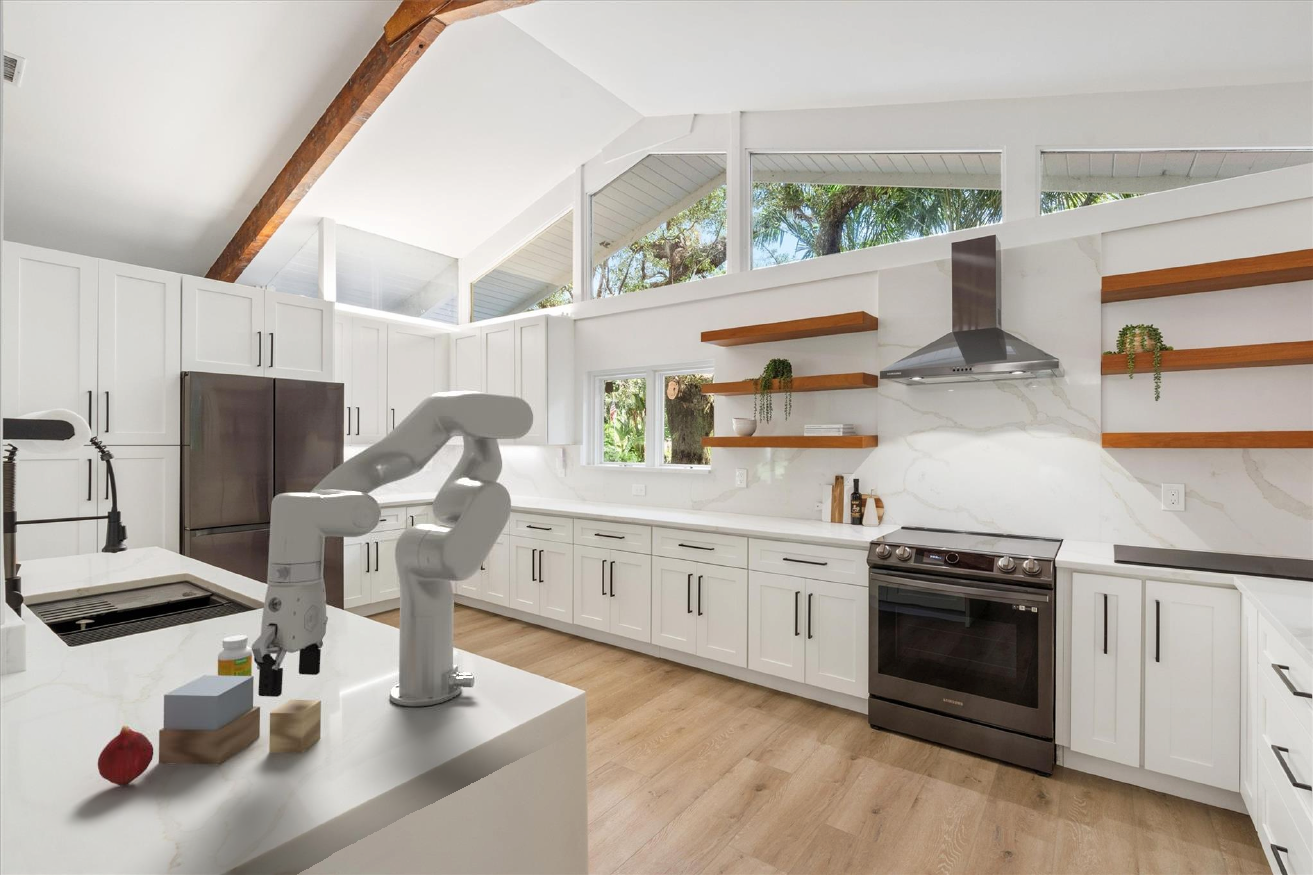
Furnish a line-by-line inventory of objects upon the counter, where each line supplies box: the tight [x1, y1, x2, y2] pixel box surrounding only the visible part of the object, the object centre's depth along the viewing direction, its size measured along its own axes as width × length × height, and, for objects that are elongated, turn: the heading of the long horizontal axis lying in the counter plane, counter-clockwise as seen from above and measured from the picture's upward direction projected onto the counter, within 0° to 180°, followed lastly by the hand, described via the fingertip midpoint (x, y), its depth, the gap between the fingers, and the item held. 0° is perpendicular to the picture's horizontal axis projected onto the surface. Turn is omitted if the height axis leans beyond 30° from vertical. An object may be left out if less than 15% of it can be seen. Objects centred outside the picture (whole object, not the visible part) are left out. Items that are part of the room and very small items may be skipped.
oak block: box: [268, 699, 322, 754], centre depth 99 cm, size 5×5×6 cm
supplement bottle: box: [217, 634, 253, 676], centre depth 121 cm, size 5×5×10 cm
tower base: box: [158, 705, 261, 766], centre depth 98 cm, size 9×9×5 cm
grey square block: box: [163, 674, 255, 730], centre depth 98 cm, size 8×8×5 cm
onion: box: [97, 725, 154, 787], centre depth 87 cm, size 6×6×8 cm
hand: (290, 684), depth 99 cm, fingers open, 9 cm apart
